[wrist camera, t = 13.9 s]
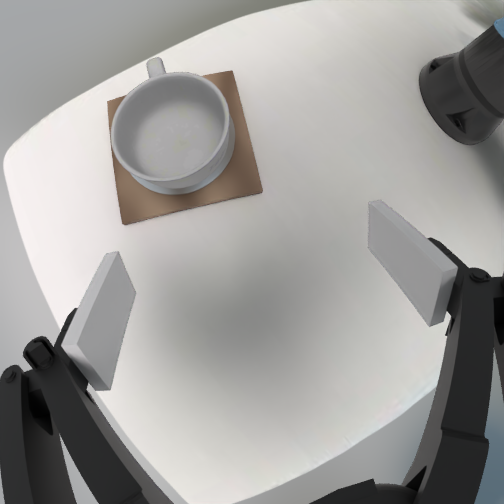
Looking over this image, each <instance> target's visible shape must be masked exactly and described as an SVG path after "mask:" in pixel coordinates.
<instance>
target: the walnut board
mask: <svg viewBox="0 0 504 504" xmlns="http://www.w3.org/2000/svg"><path fill="white" fill-rule="evenodd" d="M202 77H204V78H206V79H207V80H209V81H211V82H212V83H213V84H214V85H216V86H217V88H218V89H219V90H220V91H221V93H222V94H223V96H224V97H225V99H226V102H227V105H228V108H229V114H230V124H229V141H228V146H227V150H226V153H225V156H224V158H223V160H222V162H221V163H220V165H219V166H218V167H217V169H216V170H215V171H214V172H213V173H212V174H211V175H210V176H208V177H207V178H206V179H204V180H203V181H201V182H199V183H197V184H195V185H192V186H189V187H185V188H174V189H173V188H164V187H160V186H157V185H154V184H152V183H150V182H148V181H146V180H144V179H141V178H139V177H137V176H134V175H133V174H131V173H130V172H128V171H127V170H126V169H125V168H124V167H123V166H122V165H121V164H120V163H119V161H118V159H117V158H116V156H115V154H114V151H113V149H112V145H111V150H112V158H113V167H114V174H115V181H116V188H117V195H118V201H119V207H120V213H121V219H122V224H124V225H128V224H131V223H135V222H139V221H143V220H147V219H150V218H154V217H158V216H162V215H166V214H170V213H174V212H178V211H182V210H187V209H191V208H195V207H199V206H203V205H208V204H212V203H217V202H221V201H225V200H230V199H235V198H239V197H244V196H249V195H253V194H258V193H262V191H263V190H262V185H261V181H260V177H259V173H258V169H257V165H256V161H255V157H254V153H253V149H252V145H251V141H250V137H249V133H248V129H247V125H246V121H245V117H244V113H243V109H242V105H241V101H240V97H239V93H238V90H237V86H236V82H235V78H234V74H233V71H226V72H220V73H215V74H209V75H204V76H202ZM126 96H127V95H125V96H122V97H119V98H116V99H113V100H110V101H107V103H108V118H109V130H110V140H111V127H112V121H113V118H114V115H115V113H116V110H117V108H118V107H119V105H120V103H121V102H122V101H123V99H124V98H125V97H126Z"/></svg>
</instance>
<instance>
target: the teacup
mask: <svg viewBox="0 0 504 504" xmlns="http://www.w3.org/2000/svg"><path fill="white" fill-rule="evenodd" d="M147 70H148V74H149V77H150V79H148V80H146V81H144V82H143V83H141V84H140V85H138V86H137V87H135V88H134V89H133V90H132V91H130V92H129V93H128V94H127V96H126V97H125V98H124V99H123V101H122V102H121V103H120V105H119V107H118V108H117V110H116V113H115V115H114V118H113V121H112V127H111V145H112V149H113V151H114V154H115V156H116V158H117V159H118V161H119V163H120V164H121V165H122V166H123V167H124V168H125V169H126V170H127V171H128V172H130V173H131V174H133V175H134V176H137V177H139V178H141V179H144V180H146V181H148V182H150V183H152V184H154V185H157V186H160V187H164V188H173V189H174V188H185V187H189V186H192V185H195V184H197V183H199V182H201V181H203V180H204V179H206V178H207V177H208V176H210V175H211V174H212V173H213V172H214V171H215V170H216V169H217V167H218V166H219V165H220V163H221V162H222V160H223V158H224V156H225V153H226V150H227V146H228V141H229V124H230V114H229V108H228V105H227V102H226V99H225V97H224V96H223V94H222V93H221V91H220V90H219V89H218V88H217V86H216V85H214V84H213V83H212V82H211V81H209V80H207V79H206V78H204V77H202V76H199V75H197V74H192V73H188V72H173V73H166V71H165V68H164V65H163V61H162V59H161V58H159V57H156V58H153V59H150V60H149V61H148V62H147Z"/></svg>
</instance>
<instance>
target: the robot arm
mask: <svg viewBox="0 0 504 504" xmlns="http://www.w3.org/2000/svg"><path fill="white" fill-rule="evenodd" d="M420 89H421V93H422V97H423V99H424V102H425V104H426V106H427V108H428V110H429V112H430V113H431V115H432V116H433V118H434V119H435V121H436V122H437V123H438V125H439V126H440V127H441V128H442V129H443V130H444V131H445V132H446V133H447V134H448V135H449V136H451V137H452V138H453V139H455V140H457V141H459V142H461V143H463V144H467V145H473V144H476V143H479V142H481V141H484V140H485V139H487V138H488V137H489V136H490V135H491V133H492V132H493V131H494V130H495V129H496V128H497V126H498V125H499V124H500V123H501V122H502V120H503V119H504V17H503V18H501V19H498V20H496V21H495V22H494V25H492V26H491V27H490V28H489V29H487V30H486V31H485V32H484V33H482V34H481V35H480V36H479V37H478V38H476V39H475V40H474V41H472V42H471V43H470V44H469V45H467V46H466V47H465V48H464V49H463V50H461V51H460V52H457V53H453V54H449V55H445V56H442V57H438V58H435V59H433V60H431V61H430V62H429V63H428V64H427V65H426V66H425V67H424V68H423V69H422V71H421V73H420ZM368 248H369V250H370V251H371V252H372V253H373V254H374V256H375V257H376V258H377V259H378V261H379V262H380V263H381V264H382V266H383V267H384V268H385V269H386V270H387V272H388V273H389V274H390V276H391V277H392V278H393V279H394V281H395V282H396V283H397V284H398V286H399V287H400V288H401V290H402V291H403V292H404V294H405V295H406V296H407V297H408V299H409V300H410V301H411V303H412V304H413V305H414V307H415V308H416V309H417V311H418V312H419V314H420V315H421V316H422V318H423V319H424V320H425V322H426V323H427V325H428V326H429V327H430V326H433V325H436V324H438V323H441V322H443V321H444V318H445V315H446V311H448V313H449V314H450V315H451V319H450V322H449V325H448V328H447V331H446V334H445V336H447V341H446V347H445V352H444V357H443V362H442V367H441V371H440V376H439V380H438V384H437V388H436V392H435V396H434V400H433V404H432V408H431V411H430V414H429V418H428V421H427V424H426V428H425V430H424V434H423V437H422V440H421V442H420V445H419V448H418V451H417V454H416V456H415V459H414V461H413V464H412V466H411V467H410V469H409V471H408V473H407V475H406V477H405V479H404V481H403V483H402V485H396V484H375V482H374V479H370V480H367V481H364V482H361V483H358V484H355V485H351V486H348V487H345V488H341V489H338V490H336V491H334V492H332V493H330V494H328V495H326V496H324V497H322V498H320V499H318V500H316V501H314V502H312V503H310V504H474V502H475V499H476V496H477V493H478V489H479V486H480V482H481V479H482V475H483V471H484V467H485V463H486V459H487V455H488V449H489V441H488V439H486V438H485V436H484V432H485V426H486V421H487V414H488V408H489V400H490V391H491V382H492V370H493V353H494V350H495V354H496V359H497V364H498V369H499V375H500V380H501V387H502V394H503V400H504V273H503V276H502V277H491V276H490V275H489V274H488V273H487V272H486V271H484V270H482V269H479V268H468V267H467V266H466V265H465V264H464V263H463V262H462V261H461V260H460V259H459V258H458V257H457V256H455V255H454V254H452V252H451V251H450V250H449V249H447V247H445V246H444V245H443V244H442V243H441V242H439V241H437V240H435V239H433V238H426V237H425V236H424V235H423V234H422V233H420V232H419V231H418V230H417V229H416V228H415V227H413V226H412V225H411V224H410V223H409V222H408V221H406V220H405V219H404V218H403V217H402V216H400V215H399V214H398V213H397V212H396V211H394V210H393V209H392V208H391V207H389V206H388V205H387V204H386V203H384V202H383V201H382V200H378V201H372V202H369V222H368ZM135 296H136V291H135V289H134V287H133V285H132V282H131V280H130V278H129V275H128V273H127V271H126V268H125V266H124V263H123V261H122V259H121V256H120V254H119V251H116V252H112V253H107V254H106V255H105V256H104V258H103V260H102V262H101V264H100V266H99V267H98V269H97V271H96V273H95V275H94V277H93V279H92V281H91V283H90V285H89V287H88V289H87V291H86V293H85V295H84V297H83V299H82V301H81V303H80V305H79V307H78V308H74V310H73V311H72V312H71V313H70V314H69V315H68V317H67V319H66V321H65V323H64V325H63V327H62V329H61V332H60V334H59V336H58V338H57V340H56V343H55V345H54V347H53V346H52V344H51V343H50V341H49V340H48V339H47V338H46V337H43V336H40V337H37V338H35V339H33V340H32V341H30V342H29V343H28V344H27V346H26V347H25V349H24V351H23V357H24V358H25V359H26V361H27V362H28V363H29V365H30V366H31V367H32V368H33V369H32V370H29V371H26V372H23V370H22V369H21V368H20V367H19V366H18V365H12V366H10V367H9V368H7V369H6V370H5V371H4V372H3V374H2V376H1V378H0V469H1V478H2V487H3V494H4V500H5V504H77V503H76V500H75V497H74V493H73V490H72V487H71V483H70V479H69V475H68V472H67V468H66V464H65V459H64V455H63V450H62V446H61V441H60V436H59V433H60V435H61V437H62V440H63V442H64V444H65V446H66V448H67V450H68V452H69V454H70V456H71V457H72V459H73V461H74V463H75V465H76V467H77V469H78V470H79V472H80V474H81V476H82V477H83V479H84V481H85V482H86V484H87V485H88V487H89V489H90V491H91V492H92V494H93V495H94V497H95V499H96V500H97V502H98V503H99V504H174V503H173V502H172V501H171V500H170V499H169V498H168V497H167V496H166V495H165V494H164V493H163V491H162V490H161V489H160V488H159V487H158V486H157V485H156V484H155V483H154V482H153V480H152V479H151V478H150V477H149V475H148V474H147V473H146V472H145V471H144V470H143V468H142V467H141V466H140V465H139V463H138V462H137V461H136V459H135V458H134V457H133V456H132V454H131V453H130V452H129V450H128V449H127V448H126V446H125V445H124V444H123V442H122V441H121V440H120V438H119V437H118V435H117V434H116V433H115V431H114V430H113V428H112V427H111V425H110V424H109V423H108V421H107V420H106V418H105V417H104V415H103V413H102V412H101V410H100V409H99V407H98V406H97V404H96V403H95V401H94V399H93V398H92V396H91V394H90V393H89V392H88V391H87V390H86V389H87V386H88V382H89V383H90V385H91V386H92V387H93V388H94V390H95V391H104V390H111V386H112V382H113V377H114V373H115V369H116V365H117V361H118V357H119V353H120V349H121V345H122V341H123V338H124V334H125V330H126V327H127V323H128V319H129V316H130V313H131V309H132V306H133V302H134V299H135Z"/></svg>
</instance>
